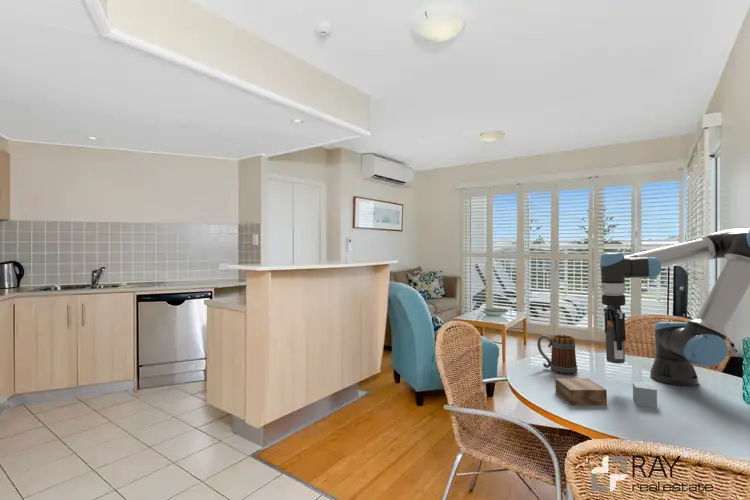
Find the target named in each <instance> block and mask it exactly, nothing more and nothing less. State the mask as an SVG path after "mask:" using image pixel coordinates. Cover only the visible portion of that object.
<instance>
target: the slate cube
mask: <svg viewBox="0 0 750 500" xmlns="http://www.w3.org/2000/svg"><path fill="white" fill-rule="evenodd" d="M632 399H633V402H634V404H635V406H641V407H650V408H654V409H655V408H656V409H658V390H657V388H656V386H655V384H653V383H646V382H639V381H633V382H632Z"/></svg>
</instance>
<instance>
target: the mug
mask: <svg viewBox="0 0 750 500" xmlns="http://www.w3.org/2000/svg"><path fill="white" fill-rule="evenodd" d="M543 339H546V340H548V342H549V343H548V344H547V347H548V348H551V357H548V356H547V355H546V354H545V353H544V351H543V348H542V345H541V341H542V340H543ZM575 343H576V342H575V338H574V336H572V335H571V336H570V335H567V334H555V335H553V336H552V337H551V336H549V335H548V334H543V335H541V336H540V337H539V338H538V339H537V343H536V345H537V350H538V352H539V353H540V355H541V356H542V357H543V358H544V360H545V361H546V362H547V363H546V362H543V363H542V365H543V367H544V368H546V369H548V368H550V370H551V371H552V373H555V374H557V375H563V376H573V375H576V374H577V373H578V365H577V356H576V355H577V354H576V344H575Z"/></svg>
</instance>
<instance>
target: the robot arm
mask: <svg viewBox="0 0 750 500" xmlns="http://www.w3.org/2000/svg"><path fill="white" fill-rule="evenodd" d="M599 259H600V262H599V263H600V265H599V266H600V280H601V285H600V286H599V288H600V289H601V293H602V294H601V303H602V305H604V306H606V307H604V308H603V314H604V315H603V316H604V317H603V318H604V324H603V325H604V333H605V334H606V332H607V331H608V329H607V328H606V326H607V325H608V324H607V321H608V320H611V322H613V329H614V335H615V339H614V340H613V341H614V356H615V359H624V356H623V341H624V342H625V341H626V340H627V337H626V322H625V321H626V313H625V312H623V311H622V308H621V306H622V307H623V306H625V305H626V296H625V293H626V282H625V281H626V280H625V279H631V278H632V279H634V278H636V279H637V278H638V279H641V278H643V279H644V278H647V279H650V278H656V277H659V275H660V274H661V271H662V268H665V267H670V266H675V265H678V264H683V263H688V262H689V263H690V262H693V261H697V260H702V259H703V260H706V261H709V260H714V259H725V260H726V263H725V264H724V266H723V269H722V270H721V272H720V274H719V275H718V277H717V280H716V281H715V283H714V284H713V287H712V289H711V291H710V292H709V294H708V295H707V297H706V299H705V301H704V303H703V305H702V307H701V308H700V310H699V312H698V314H697V316H696V318H693V319H689V320H688V321H686V322H683V321H656V323H655V324H654V330H653V332H654V345H655V346H654V351H655V352H654V354H655V357H654V360H653V363H652V366H651V367H650V370H649V373H650V374H649V375H650V378H652V379H653V380H655V381H658V382H660V383H665V384H668V385H675V386H684V387H685V386H686V387H688V386H690V387H691V386H696V385H698V384H699V377H698V374H697V372H696V369H695V367H694V365H693V364H695V365H698V366H702V367H713V366H716V365H720V363H722V362H723V361H725V359H726V358H727V356H728V353H729V348H728V345H727V342H726V340H727V339H728V334H727V333H726V328H727V326H728V325H729V323H730V321H731V320H732V317H734V315H735V312H736V310H737V308H738V307H739V305H740V303H741V302H742V300H743V298H744V297H745V294H746V293H747V290H748V289H749V287H750V226H746V227H744V226H742V227H731V228H730V227H729V228H728V229H722V230H718V231H716V232H712V233H709V234H705V235H701V236H699V237H698V238H697V239H695V240H691V241H687V242H681V243H677V244H673V245H668V246H665V247H664V246H662V247H658V248H655V249H650V250H645V251H641V252H637V253H633V254H632V253H631V254H628V255H624V253H622V252H604V253H602V254H601V255H600V258H599Z"/></svg>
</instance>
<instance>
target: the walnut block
mask: <svg viewBox="0 0 750 500" xmlns="http://www.w3.org/2000/svg"><path fill="white" fill-rule="evenodd" d="M554 381H555V393H556V394H557V395H559V397H561V398H562V399H563V400H564V401H566V402H567V403H568V404H569V405H571V406H572V405H573V406H585V405H586V406H595V405H597V406H607V405H608V401H607V399H608V397H607V395H608V394H607V393H608V392H607V389H606V388H605V387H603V386H601V385H599V384H598V383H597V382H595V381H593V380H591V379H590V378H586V377H585V378H584V377H583V378H580V377H579V378H577V377H576V378H559V377H558V378H555V380H554Z"/></svg>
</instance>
